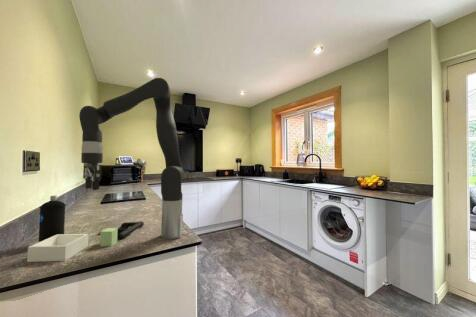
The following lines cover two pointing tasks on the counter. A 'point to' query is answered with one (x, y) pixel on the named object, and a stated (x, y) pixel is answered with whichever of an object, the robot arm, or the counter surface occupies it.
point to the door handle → (128, 229)
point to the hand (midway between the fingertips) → (91, 189)
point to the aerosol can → (51, 218)
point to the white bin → (57, 247)
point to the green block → (108, 236)
